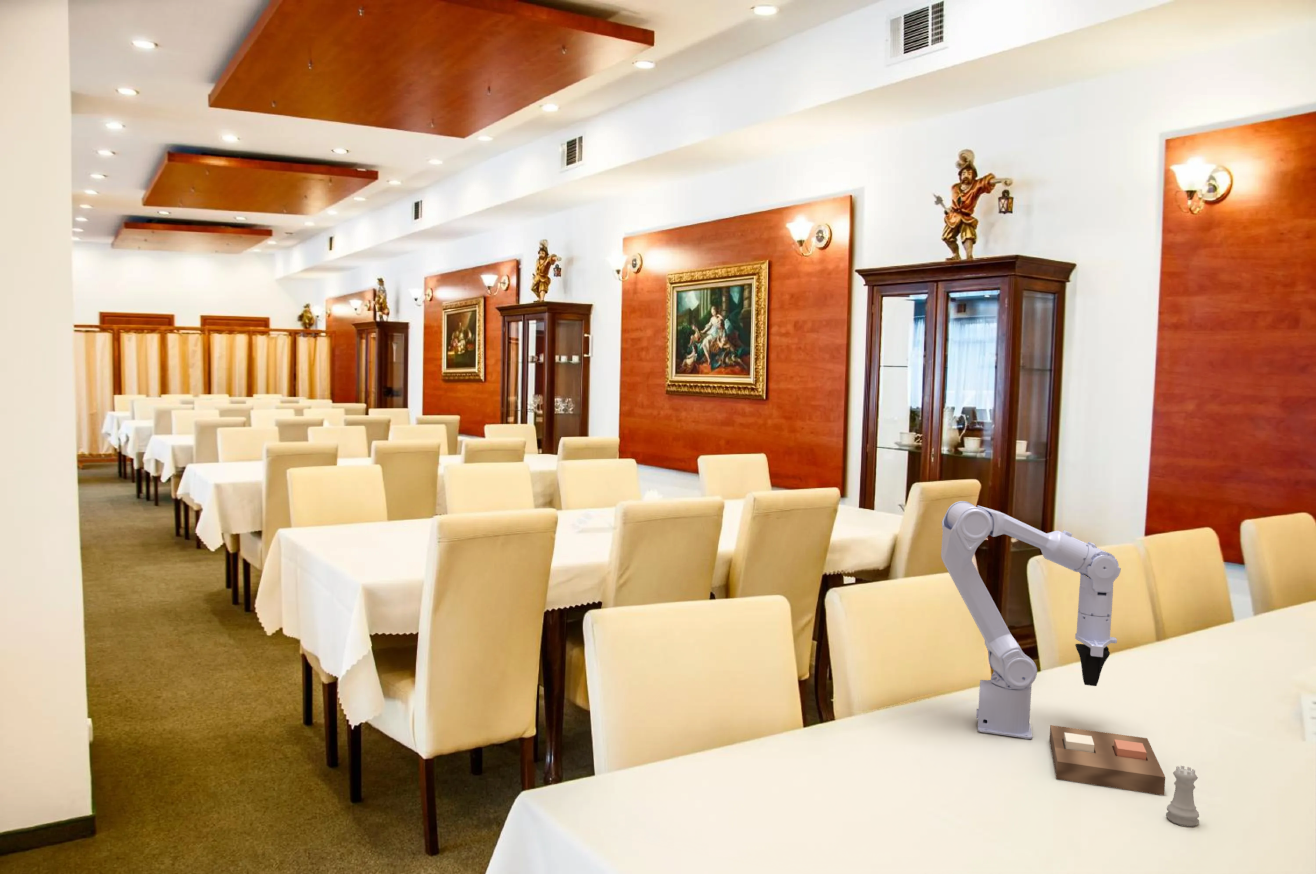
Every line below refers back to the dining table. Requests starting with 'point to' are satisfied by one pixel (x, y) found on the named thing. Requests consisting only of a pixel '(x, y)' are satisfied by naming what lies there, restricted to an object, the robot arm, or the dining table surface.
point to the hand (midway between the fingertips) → (1090, 684)
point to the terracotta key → (1129, 749)
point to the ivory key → (1078, 742)
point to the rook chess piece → (1183, 799)
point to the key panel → (1106, 762)
